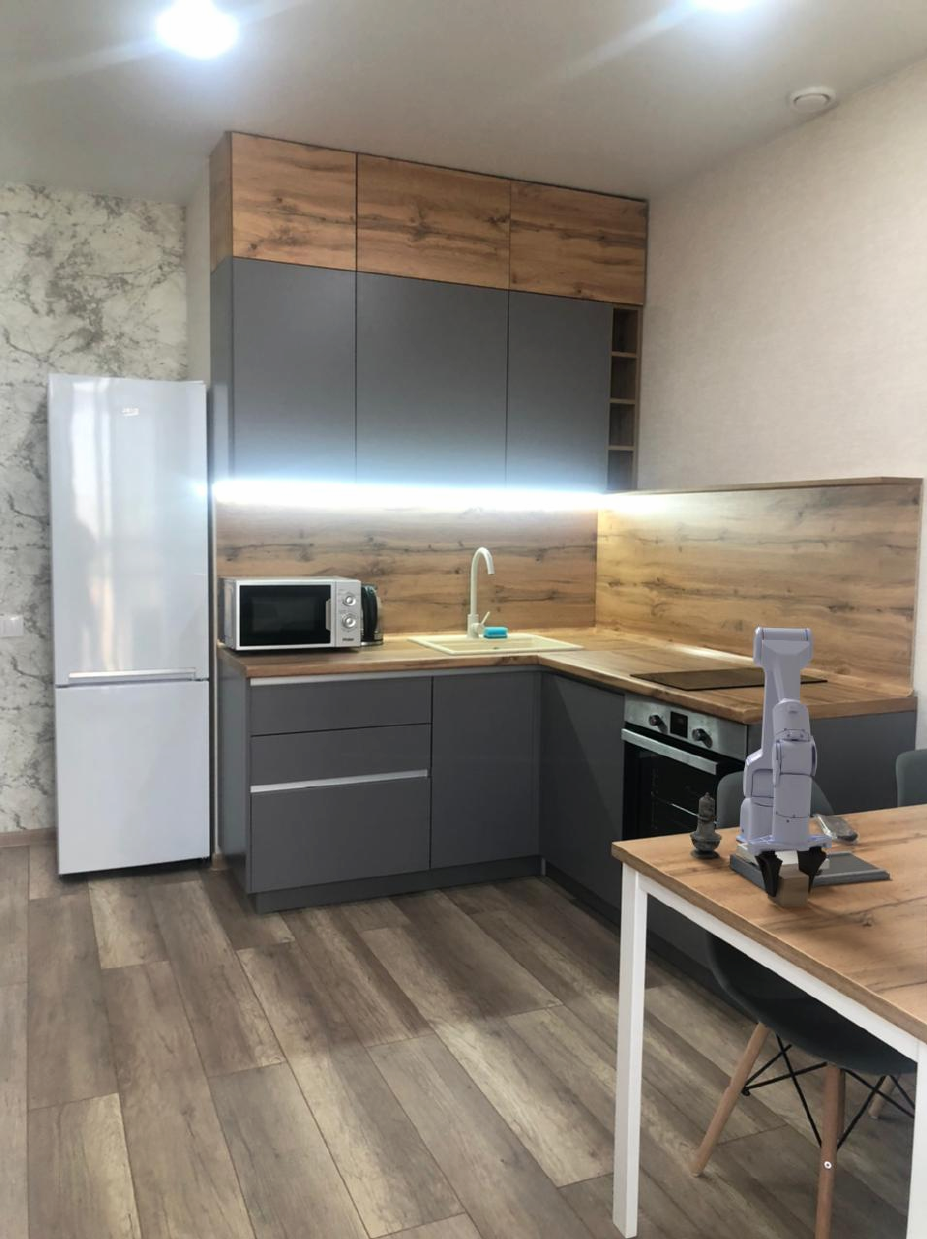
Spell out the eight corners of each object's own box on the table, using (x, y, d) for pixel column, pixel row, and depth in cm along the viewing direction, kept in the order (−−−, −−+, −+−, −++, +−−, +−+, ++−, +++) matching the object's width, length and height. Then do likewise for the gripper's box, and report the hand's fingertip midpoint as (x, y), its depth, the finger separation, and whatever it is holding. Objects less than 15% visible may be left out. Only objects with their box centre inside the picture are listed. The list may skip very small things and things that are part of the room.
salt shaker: (698, 861, 184) (700, 797, 182) (683, 850, 189) (685, 788, 188) (727, 858, 185) (729, 795, 184) (711, 848, 191) (713, 786, 189)
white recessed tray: (736, 859, 180) (737, 844, 180) (790, 854, 183) (791, 839, 183) (771, 881, 170) (772, 865, 169) (828, 875, 173) (829, 860, 172)
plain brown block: (767, 898, 167) (768, 869, 166) (791, 895, 168) (792, 866, 167) (783, 908, 162) (784, 878, 162) (807, 905, 164) (808, 876, 163)
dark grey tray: (729, 867, 181) (729, 854, 180) (846, 855, 187) (847, 843, 187) (766, 891, 169) (767, 878, 169) (889, 878, 176) (890, 865, 176)
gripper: (765, 823, 158) (762, 906, 159) (845, 816, 162) (840, 898, 163) (741, 810, 164) (738, 890, 166) (818, 804, 168) (814, 882, 170)
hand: (787, 893), depth 165 cm, fingers open, 6 cm apart
